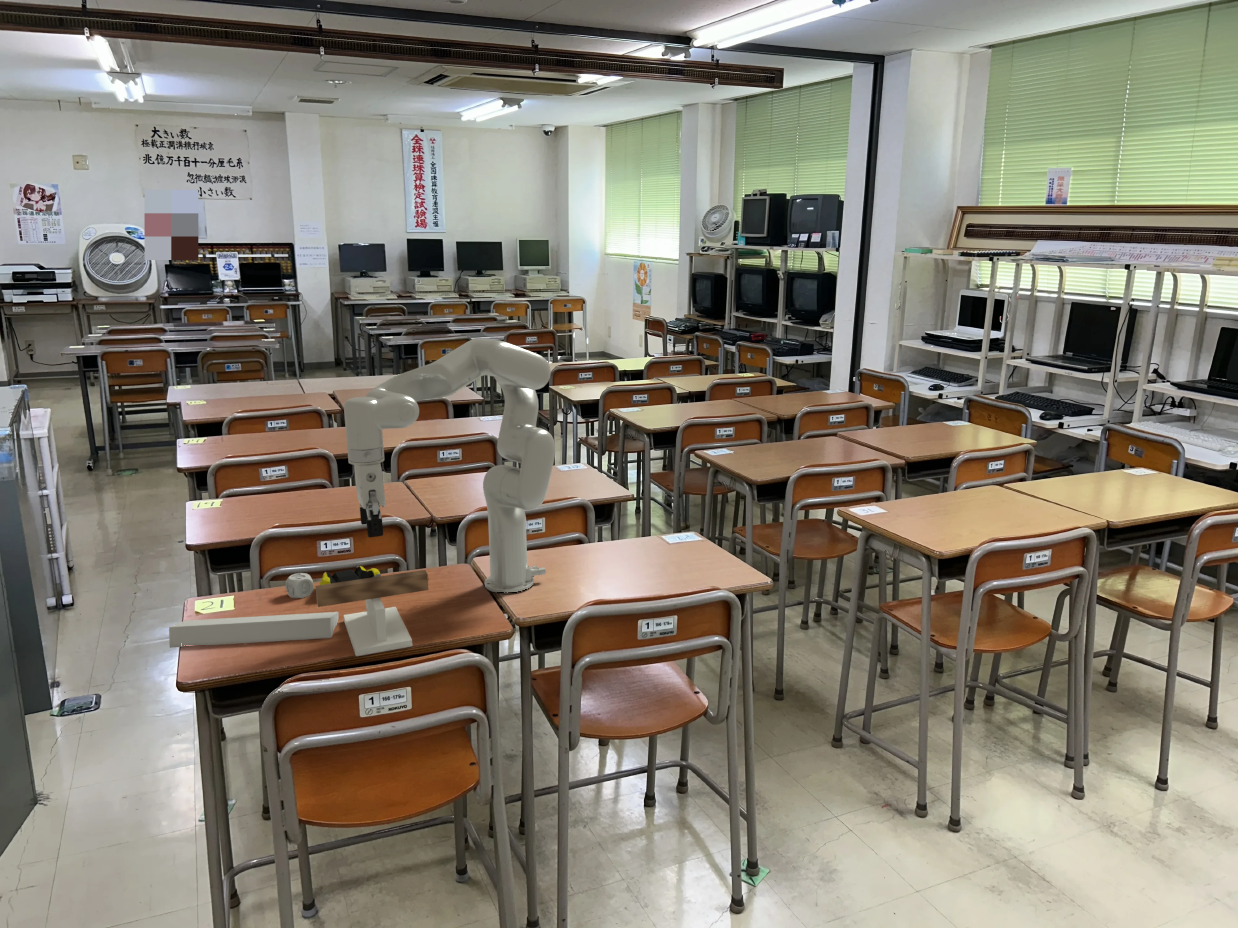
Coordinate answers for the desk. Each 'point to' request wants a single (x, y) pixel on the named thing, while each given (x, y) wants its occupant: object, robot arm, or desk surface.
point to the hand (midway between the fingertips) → (371, 529)
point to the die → (299, 585)
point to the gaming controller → (349, 575)
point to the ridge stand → (376, 629)
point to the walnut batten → (371, 588)
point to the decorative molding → (253, 629)
